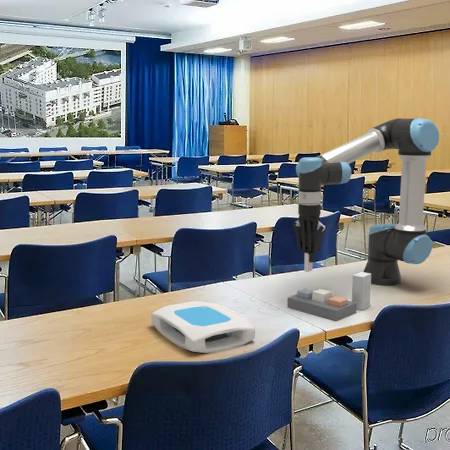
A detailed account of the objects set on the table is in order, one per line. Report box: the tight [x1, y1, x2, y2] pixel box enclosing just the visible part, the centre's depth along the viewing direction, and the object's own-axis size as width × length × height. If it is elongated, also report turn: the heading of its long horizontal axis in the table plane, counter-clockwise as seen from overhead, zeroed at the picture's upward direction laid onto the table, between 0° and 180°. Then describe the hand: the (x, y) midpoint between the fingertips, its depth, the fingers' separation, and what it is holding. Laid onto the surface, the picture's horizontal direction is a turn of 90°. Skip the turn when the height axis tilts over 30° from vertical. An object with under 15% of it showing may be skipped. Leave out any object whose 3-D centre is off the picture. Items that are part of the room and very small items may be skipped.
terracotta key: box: [328, 295, 349, 308], centre depth 200 cm, size 5×5×4 cm
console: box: [287, 294, 357, 322], centre depth 205 cm, size 12×20×4 cm, turn 46°
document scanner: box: [150, 300, 256, 354], centre depth 181 cm, size 21×28×6 cm
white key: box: [312, 288, 332, 303], centre depth 204 cm, size 5×5×4 cm
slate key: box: [296, 288, 314, 299], centre depth 209 cm, size 5×5×4 cm
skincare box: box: [351, 271, 372, 311], centre depth 207 cm, size 6×4×12 cm
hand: (308, 270), depth 208 cm, fingers closed
